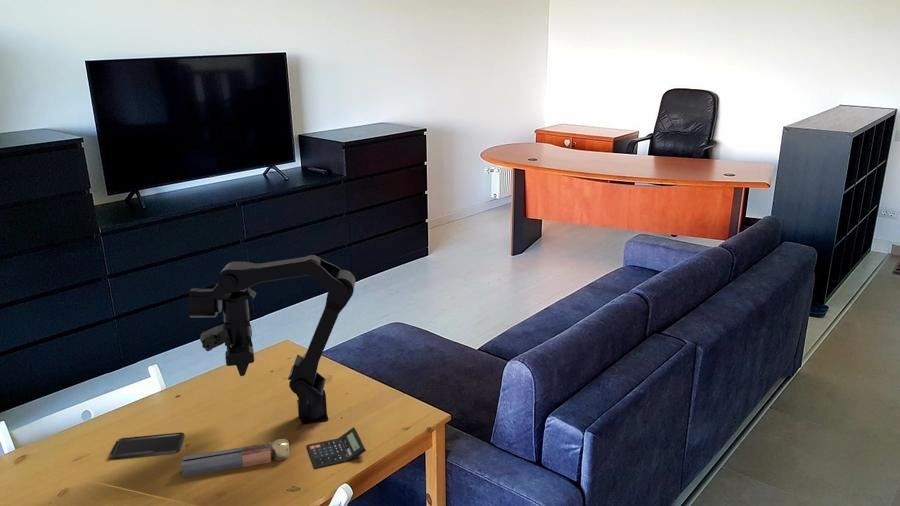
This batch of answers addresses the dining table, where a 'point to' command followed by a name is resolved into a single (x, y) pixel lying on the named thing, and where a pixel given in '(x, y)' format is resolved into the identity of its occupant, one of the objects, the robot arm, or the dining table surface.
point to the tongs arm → (277, 450)
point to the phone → (147, 445)
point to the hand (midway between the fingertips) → (242, 375)
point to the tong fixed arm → (226, 462)
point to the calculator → (336, 450)
